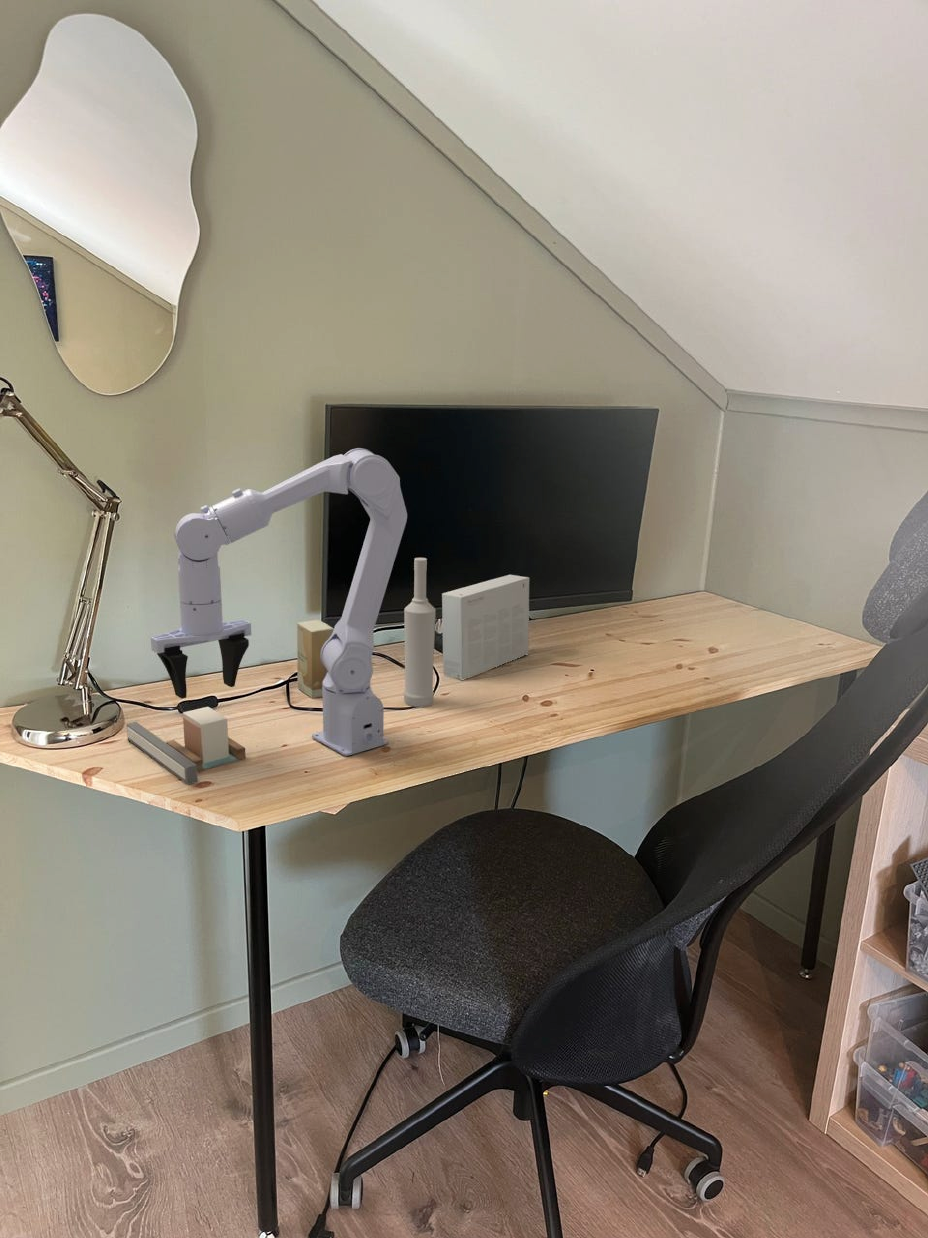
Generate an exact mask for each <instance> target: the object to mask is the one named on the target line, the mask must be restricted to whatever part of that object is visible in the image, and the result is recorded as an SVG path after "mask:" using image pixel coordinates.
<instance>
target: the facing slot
mask: <svg viewBox="0 0 928 1238" xmlns="http://www.w3.org/2000/svg"><path fill="white" fill-rule="evenodd" d="M165 743H167V744H168V745H170V746H171V747H172V748H174V749H175V750H177V751H178V752H179V753H181V754H182V755H184V756H185V757H186V758H188V759H189V760H191V761H192V762H194V763H195V764H196V765H197V773H198V772H200V771H204V770H208V769H212V768H214V767H218V766H222V765H225V764H229V763H233V762H236V761H239V760H243V759H246V747H245V746H244V745H241V744H240V743H238V742H237V741H236V740H234V739H232V738H230V737H229V736H228V746H229V757H227V758H223V759H219V760H216V761H212V762H208V763H205V764H203V763H202V759H200V758H199V757H198V756H196V755H195V754H193V753H192V752H190V751H189V750H188V749H186V748H185V745H184V746H183V744H180V743H179V742H177V741H176V740H175V739H173V740H169V741H166V742H165Z"/></svg>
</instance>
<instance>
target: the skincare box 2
mask: <svg viewBox="0 0 928 1238" xmlns="http://www.w3.org/2000/svg"><path fill="white" fill-rule="evenodd" d="M441 603H442V604H441V607H442V608H441V610H442V611H441V613H442V615H441V617H442V618H441V619H442V675H443V674H444V675H443V676H445V675H447V676H446V677H448V676H450V677H449V678H452V677H453V678H452V679H456V678H460V679H465V678H468V679H470V678H469V677H471V678H472V676H473V677H476V676H478V675H480V673H481V674H483V673H486V672H488V671H487V670H489V669H491V670H493V669H492V668H494V667H496V666H499V665H501V666H503V665H502V664H504V663H506V664H508V663H507V662H509V661H511V660H514V659H516V660H518V659H517V658H519V657H521V656H524V655H526V654H528V653H529V654H530V650H529V649H530V646H529V645H530V644H529V643H530V641H529V640H530V637H529V635H530V634H529V633H530V632H529V631H530V629H529V628H530V627H529V626H530V577H528V576H520V575H516V574H508V575H504V576H500V577H496V578H492V579H489V580H486V581H481V582H479V583H476V584H472V585H471V584H470V585H468V586H465V587H460V588H457V589H454V590H451V591H447V592H443V593H441ZM524 657H525V656H524ZM519 659H520V658H519ZM514 661H515V660H514ZM511 662H512V661H511ZM509 663H510V662H509ZM504 665H505V664H504ZM499 667H500V666H499ZM496 668H497V667H496ZM494 669H495V668H494ZM485 671H486V672H485ZM489 671H490V670H489ZM482 672H483V673H482ZM477 674H478V675H477ZM475 675H476V676H475Z"/></svg>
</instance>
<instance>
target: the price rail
mask: <svg viewBox="0 0 928 1238" xmlns="http://www.w3.org/2000/svg"><path fill="white" fill-rule="evenodd" d="M126 733H127V740H128V741H129V742H130V743H132V744H133V745H134V746H136V747H137V748H138V749H140V750H141V751H142V752H144V753H145V754H146V755H148V756H149V757H151V758H152V759H153V760H155V761H156V762H157V763H159V764H160V765H161V766H162V767H164V769H166V770H167V771H169V772H171V773H172V774H173V775H174V776H176V777H177V778H178V779H180V780H181V781H183V782H184V783H185V784H187V785H192V784H193V783H198V781H199V779H198V778H199V777H198V772H197V765H196V764H195V763H194V762H192V761H191V760H189V759H188V758H186V757H185V756H184V755H182V754H181V753H179V752H178V751H177V750H175V749H174V748H172V747H171V746H170V745H168V744H167V743H166V742H165V741H164V740H162V739H161V738H160V737H158V735H155V734H154V733H153V732H151V731H150V730H149V729H148V728H145V727H144V726H142V725H141V724H140V723H139V722H137V721H134V722H130V723H126Z"/></svg>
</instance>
